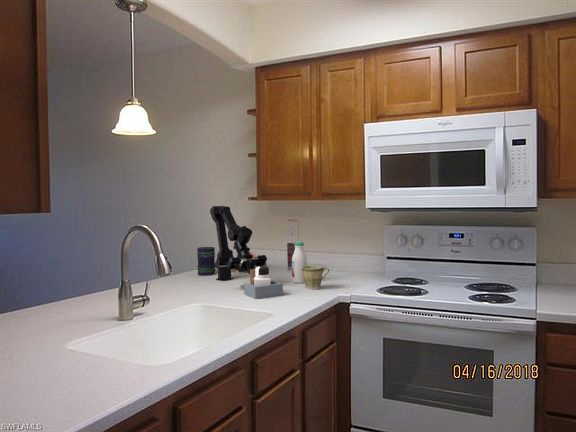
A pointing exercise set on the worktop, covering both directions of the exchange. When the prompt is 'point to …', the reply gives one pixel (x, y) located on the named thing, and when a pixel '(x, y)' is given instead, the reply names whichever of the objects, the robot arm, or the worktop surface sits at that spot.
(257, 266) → the wooden box
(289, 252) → the supplement box
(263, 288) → the grey angular block
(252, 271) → the tan wooden stepped block
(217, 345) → the worktop surface
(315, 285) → the ceramic cup
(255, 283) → the medicine bottle
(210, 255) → the storage jar
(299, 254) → the milk bottle
